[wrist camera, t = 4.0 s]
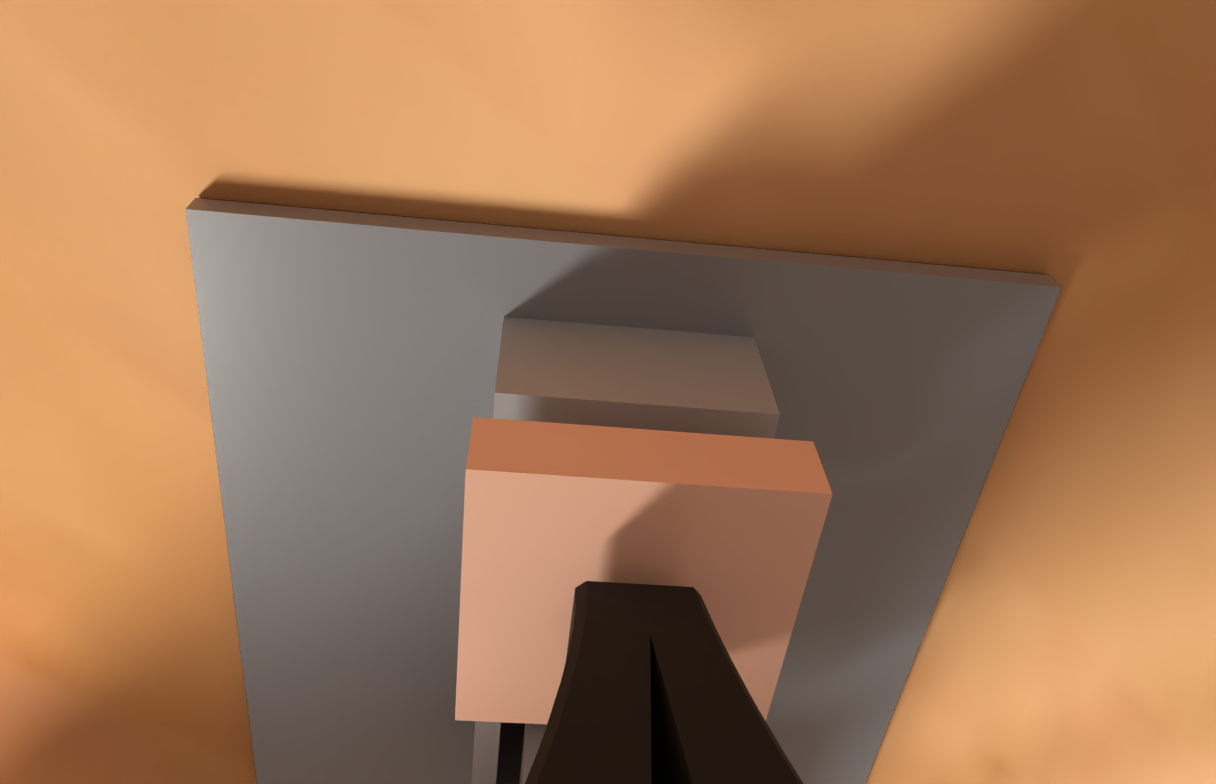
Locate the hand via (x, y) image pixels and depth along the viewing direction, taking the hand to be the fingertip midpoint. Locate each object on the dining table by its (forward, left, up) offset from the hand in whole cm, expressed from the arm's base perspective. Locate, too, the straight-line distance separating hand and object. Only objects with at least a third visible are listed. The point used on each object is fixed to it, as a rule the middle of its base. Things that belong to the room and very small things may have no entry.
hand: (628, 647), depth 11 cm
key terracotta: (0, 0, -4) cm, 4 cm away
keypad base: (-5, 0, -5) cm, 7 cm away
